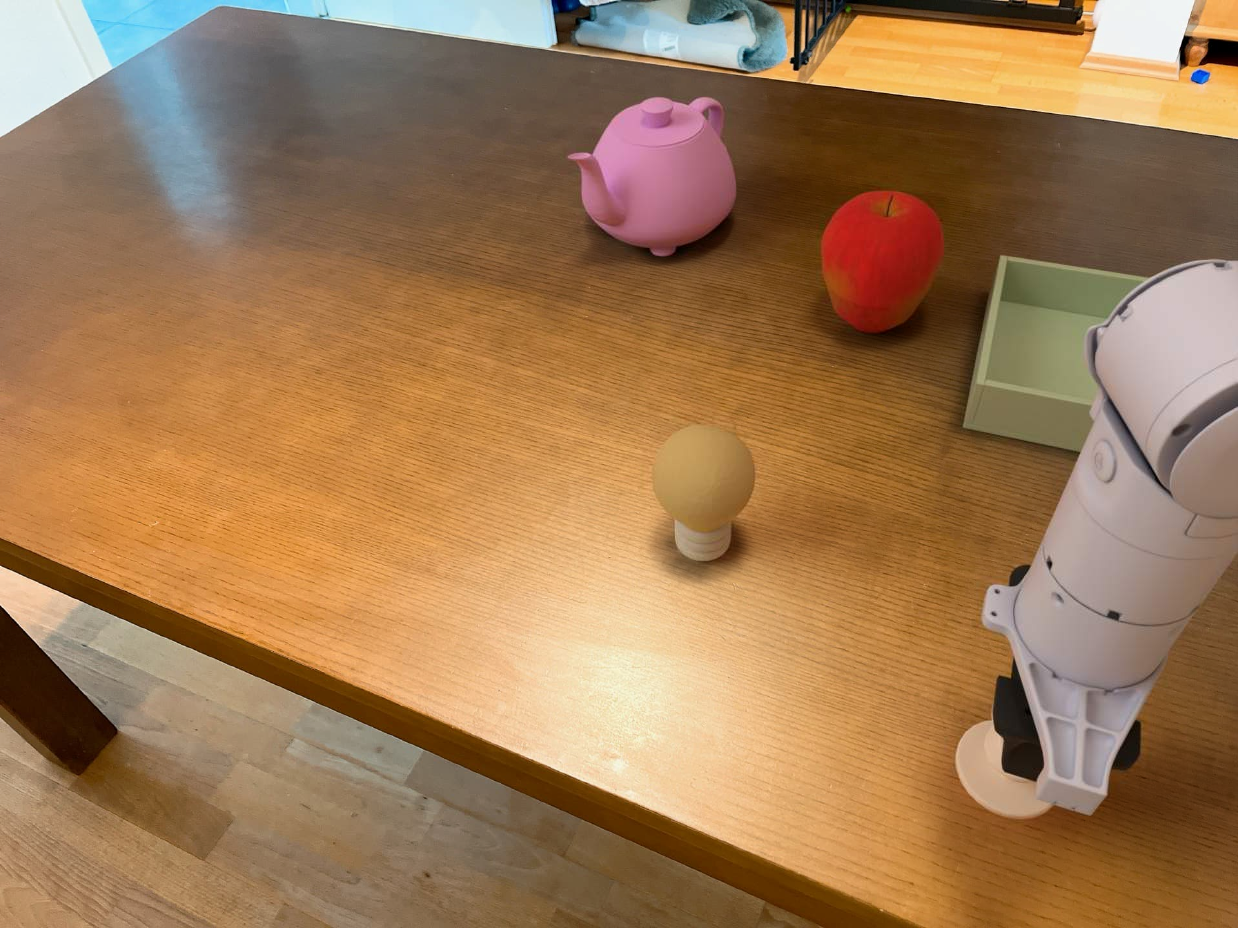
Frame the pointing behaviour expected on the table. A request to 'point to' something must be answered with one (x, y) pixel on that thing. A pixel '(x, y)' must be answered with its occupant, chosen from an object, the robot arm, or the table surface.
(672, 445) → the light bulb
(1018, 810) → the candle
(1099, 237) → the table surface
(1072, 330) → the open box
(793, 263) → the table surface
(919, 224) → the apple
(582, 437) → the table surface
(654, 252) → the teapot
